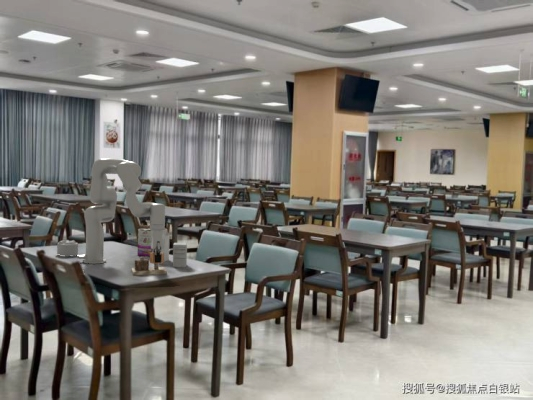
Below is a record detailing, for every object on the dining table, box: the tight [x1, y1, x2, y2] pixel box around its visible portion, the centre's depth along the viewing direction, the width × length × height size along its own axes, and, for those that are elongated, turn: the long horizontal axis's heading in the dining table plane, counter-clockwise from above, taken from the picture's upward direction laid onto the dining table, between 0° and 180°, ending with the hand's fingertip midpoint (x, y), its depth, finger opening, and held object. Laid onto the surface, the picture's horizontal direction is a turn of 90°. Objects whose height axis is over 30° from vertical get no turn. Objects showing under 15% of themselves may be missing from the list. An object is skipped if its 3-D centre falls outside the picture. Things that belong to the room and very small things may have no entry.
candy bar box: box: [137, 228, 153, 258], centre depth 326 cm, size 11×5×16 cm, turn 68°
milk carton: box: [161, 228, 170, 262], centre depth 310 cm, size 7×7×19 cm
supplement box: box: [172, 242, 188, 268], centre depth 296 cm, size 7×7×13 cm
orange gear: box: [149, 252, 164, 265], centre depth 277 cm, size 7×7×5 cm
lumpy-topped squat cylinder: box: [56, 239, 79, 256], centre depth 318 cm, size 10×13×9 cm
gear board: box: [130, 256, 168, 276], centre depth 276 cm, size 17×11×8 cm, turn 109°
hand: (156, 261), depth 277 cm, fingers closed on orange gear, 7 cm apart
